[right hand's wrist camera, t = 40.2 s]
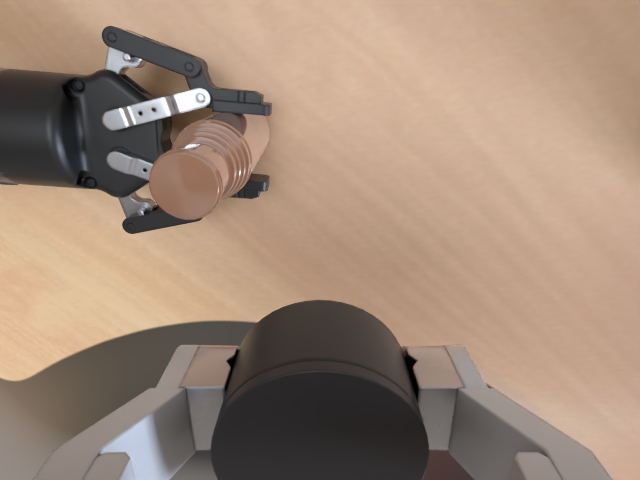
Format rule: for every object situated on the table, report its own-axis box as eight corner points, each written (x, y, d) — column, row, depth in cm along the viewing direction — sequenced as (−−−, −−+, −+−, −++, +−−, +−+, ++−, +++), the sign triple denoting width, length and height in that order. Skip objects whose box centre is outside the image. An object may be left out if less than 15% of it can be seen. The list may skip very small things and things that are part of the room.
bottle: (226, 164, 36) (155, 244, 19) (209, 111, 34) (113, 149, 17) (276, 151, 35) (249, 221, 19) (261, 98, 34) (216, 122, 17)
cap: (382, 278, 9) (404, 346, 7) (420, 416, 11) (447, 511, 9) (209, 323, 10) (174, 401, 8) (267, 450, 11) (254, 548, 9)
